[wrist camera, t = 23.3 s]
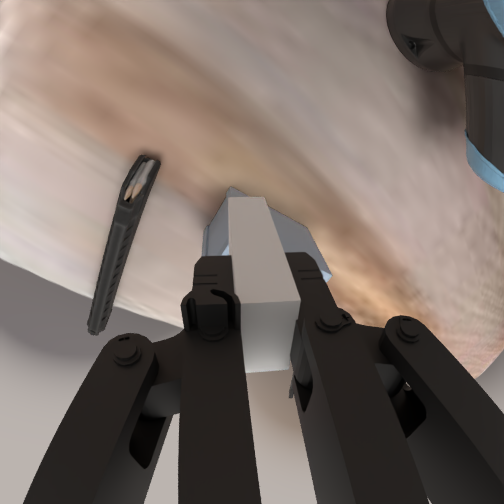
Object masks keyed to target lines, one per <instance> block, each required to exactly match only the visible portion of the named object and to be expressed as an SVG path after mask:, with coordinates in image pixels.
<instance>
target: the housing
mask: <svg viewBox="0 0 504 504" xmlns="http://www.w3.org/2000/svg"><path fill="white" fill-rule="evenodd" d="M226 196H227V197H226V198H225V200H224V202H223V203H222V205H221V207H220V208H219V210H218V212H217V213H216V215H215V217H214V218H213V220H212V222H211V224H210V225H209V226H207V227H206V228H205V230H204V233H203V244H202V256H222V255H229V224H228V197H250V196H248V195H246V194H244V193H242V192H240V191H238V190H236V189H234V188H233V187H231V186H230V188H229V190H228V191H227V193H226ZM268 208H269V211H270V214H271V216H272V219H273V222H274V225H275V228H276V230H277V233H278V236H279V239H280V242H281V244H282V247H283V250H284V253H285V252H306V253H307V254H309V255H310V256H311V257H312V258H313V259H315V261H316V263H317V265H318V267H319V269H320V271H321V273H322V275H323V279H324V280H325V282H327V281H328V280H329V279H330V278H331V277H332V274H331V272H330V270H329V268H328V266H327V264H326V262H325V260H324V258H323V256H322V254H321V253H320V251H319V249H318V247H317V245H316V243H315V241H314V239H313V238H312V236H311V234H310V232H309V230H308V228H307V227H305V226H303V225H301V224H299V223H298V222H296V221H294V220H292V219H290V218H289V217H287V216H285V215H283V214H281V213H280V212H278V211H276V210H274V209H272V208H270V207H268Z"/></svg>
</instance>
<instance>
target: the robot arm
mask: <svg viewBox="0 0 504 504" xmlns="http://www.w3.org/2000/svg"><path fill="white" fill-rule="evenodd" d="M387 23H388V27H389V31H390V33H391V36H392V38H393V40H394V42H395V44H396V45H397V47H398V48H399V50H400V51H401V52H402V54H403V55H404V56H405V57H406V58H407V59H408V60H409V61H411V62H412V63H413V64H415V65H416V66H418V67H420V68H422V69H425V70H428V71H436V72H446V71H450V70H453V69H455V68H458V67H460V66H462V65H463V66H464V78H465V96H466V129H465V137H466V156H467V161H468V163H469V165H470V167H471V168H472V170H473V171H474V172H475V174H476V175H477V176H479V177H480V178H481V179H482V180H483V181H485V182H486V183H487V184H489V185H491V186H492V187H494V188H496V189H498V190H499V191H501V192H503V193H504V0H390V1H389V3H388V7H387ZM473 75H474V76H473ZM480 76H481V77H480ZM486 77H487V78H486ZM491 78H492V79H491ZM228 224H229V255H222V256H201V258H200V259H199V260H198V261H197V263H196V264H195V267H194V277H193V287H192V291H190V292H189V293H188V294H187V295H186V296H185V297H184V298H183V300H182V303H181V305H180V306H181V312H182V318H183V324H184V330H182V331H181V332H180V333H179V334H177V335H176V336H174V337H171V338H169V339H166V340H162V341H158V342H154V343H152V342H151V341H149V339H148V338H147V337H145V336H142V335H140V334H134V333H127V334H123V335H118V336H116V337H115V338H113V339H111V340H110V341H109V342H108V343H107V344H106V345H105V346H104V347H103V349H102V350H101V352H100V354H99V356H98V357H97V359H96V361H95V362H94V364H93V366H92V367H91V369H90V371H89V373H88V375H87V376H86V378H85V380H84V381H83V383H82V385H81V387H80V388H79V391H78V392H77V394H76V396H75V397H74V399H73V401H72V403H71V405H70V406H69V408H68V410H67V412H66V414H65V416H64V418H63V420H62V422H61V423H60V425H59V427H58V429H57V431H56V433H55V435H54V437H53V439H52V441H51V443H50V445H49V447H48V449H47V451H46V453H45V455H44V458H43V460H42V462H41V464H40V466H39V468H38V471H37V473H36V475H35V477H34V479H33V482H32V484H31V486H30V488H29V491H28V493H27V495H26V498H25V500H24V502H23V504H144V501H145V498H146V495H147V492H148V489H149V486H150V483H151V479H152V476H153V473H154V470H155V467H156V464H157V461H158V458H159V455H160V452H161V450H162V446H163V444H164V440H165V438H166V435H167V432H168V429H169V426H170V423H171V420H172V417H173V415H174V414H178V413H180V418H179V457H178V504H261V496H260V489H259V481H258V473H257V466H256V458H255V450H254V442H253V434H252V425H251V417H250V408H249V400H248V391H247V382H246V373H249V372H264V371H277V370H287V369H289V365H290V360H291V363H292V367H293V371H294V372H293V377H292V381H291V386H290V390H289V398H293V394H294V396H295V401H296V405H297V410H298V415H299V419H300V424H301V428H302V433H303V437H304V443H305V447H306V451H307V457H308V461H309V466H310V470H311V475H312V480H313V485H314V490H315V495H316V499H317V504H429V501H428V499H429V500H430V501H431V503H432V504H504V414H503V413H502V411H501V410H500V409H499V408H498V406H497V405H496V404H495V403H494V402H493V400H492V399H491V398H490V397H489V396H488V394H487V393H486V392H485V391H484V390H483V389H482V388H481V386H480V385H479V384H478V383H477V382H476V380H475V379H474V378H473V377H472V376H471V375H470V374H469V373H468V371H467V370H466V369H465V368H464V367H463V366H462V365H461V364H460V363H459V361H458V360H457V359H456V358H455V357H454V356H453V355H452V354H451V353H450V352H449V350H448V349H447V348H446V347H445V346H444V345H443V344H442V343H441V342H440V341H439V340H438V339H437V338H436V337H435V336H434V335H433V333H432V332H431V331H430V330H429V329H428V328H427V327H426V326H425V325H424V324H422V323H421V322H420V321H418V320H417V319H414V318H412V317H410V316H402V315H400V316H395V317H392V318H391V319H389V320H388V321H387V323H386V326H385V328H380V327H372V326H365V325H360V324H357V323H355V320H354V319H353V318H352V316H351V315H350V314H349V313H348V312H346V311H344V310H343V309H341V308H338V307H337V305H336V303H335V301H334V299H333V297H332V295H331V292H330V290H329V288H328V286H327V284H326V282H325V280H324V279H323V275H322V273H321V271H320V269H319V267H318V265H317V263H316V261H315V259H313V258H312V257H311V256H310V255H309V254H307V253H306V252H285V253H284V250H283V247H282V244H281V242H280V239H279V236H278V233H277V230H276V228H275V225H274V222H273V219H272V216H271V214H270V211H269V208H268V206H267V203H266V200H265V197H228ZM406 382H407V383H408V384H409V386H410V387H409V386H408V385H407V384H406ZM427 497H428V499H427Z"/></svg>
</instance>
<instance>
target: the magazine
mask: <svg viewBox="0 0 504 504" xmlns="http://www.w3.org/2000/svg"><path fill="white" fill-rule="evenodd" d="M145 156H146V155H140V156H139V157H138V159H137V160H136V162H135V163H134V165H133V166H132V168H131V169H130V171H129V173H128V175H127V177H126V179H125V181H124V183H123V185H122V187H121V191H120V194H119V198H118V201H117V205H116V210H115V214H114V217H113V221H112V225H111V229H110V233H109V236H108V241H107V244H106V248H105V252H104V255H103V260H102V264H101V268H100V272H99V277H98V281H97V285H96V289H95V293H94V298H93V302H92V307H91V311H90V315H89V319H88V322H87V325H88V332H89V333H90V334H91V335H98V334H99V332H101V331H103V330H105V327H106V324H107V322H108V319H109V316H110V314H111V311H112V306H113V302H114V299H115V295H116V292H117V289H118V285H119V282H120V279H121V275H122V272H123V269H124V266H125V263H126V260H127V256H128V253H129V250H130V247H131V244H132V241H133V238H134V235H135V233H136V230H137V227H138V224H139V221H140V218H141V215H142V212H143V210H144V207H145V204H146V201H147V199H148V196H149V193H150V191H151V188H152V186H153V184H154V181H155V178H156V176H157V173H158V171H159V168H160V165H161V163H160V162H159V161H158V160H156V161H155V160H152V159H150V158H144V157H145Z"/></svg>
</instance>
